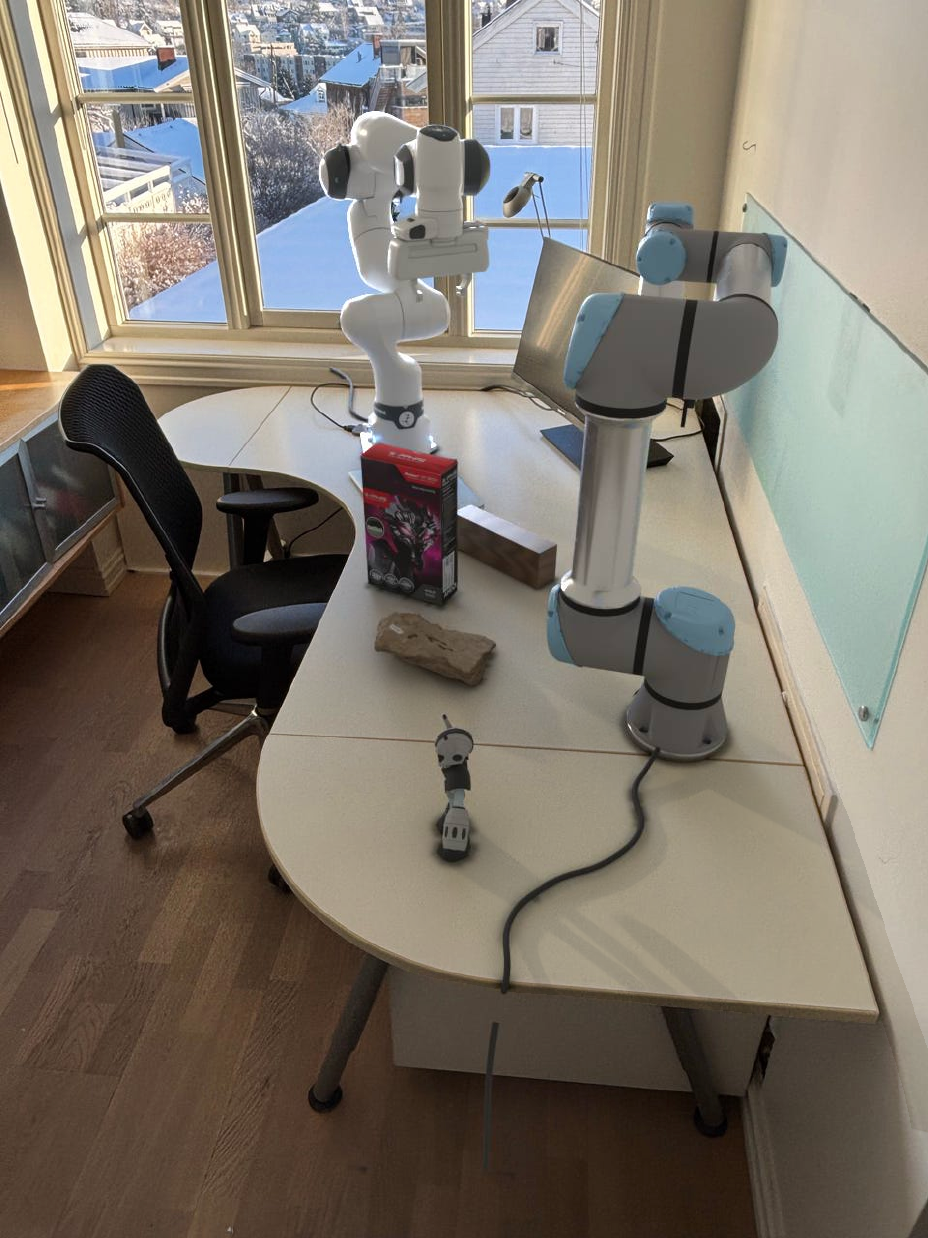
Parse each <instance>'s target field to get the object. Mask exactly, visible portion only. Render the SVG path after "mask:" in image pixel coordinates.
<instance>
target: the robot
mask: <svg viewBox="0 0 928 1238" xmlns="http://www.w3.org/2000/svg"><path fill="white" fill-rule="evenodd" d="M442 719H443V722H444V725H445V728H446V729H445V730H443V731H441V732H440V733H439V734H438V735H436V738H435V741H434V742H433V743H434V751H435V753H436V755H437V766H438V767H440V768H441V769H440V770H441V773H442V775H443V777H444V779H445V780H444V781H443V786H444V794H446V797H447V799H448V801H447V804H446V806H445V808H444V811H443V813H442V815H441V816H440V818H438V820H437V821H436V823H435V826H436V828H437V831H438V833H439V834H441V835H442V837H441V839H440V843H439V845H438V847H437V850H436V854H437V855H438V856H440V857H441V859H442V860H444V861H447V862H457V861H459V860H462V859H464V858H466V857H468V856H469V854H470V850H471V839H470V834H469V833H470V816H469V811H468V809H466V807H465V804H464V803H465V802H464V801H465V798H466V791H468V792H469V791H470V792H471V790H472V781H471V774H470V770H469V769H468V761H469V760H470V757H469V754H472V752H473V750H474V745H475V744H474V738H473V736H472V734H471V733H470V732H469V731H468V730H466V729H465V728H462V727H458V726H453V725H452V724H451V722H450V720H449V718H448V716H447V714H445V713H443V715H442ZM465 790H466V791H465Z"/></svg>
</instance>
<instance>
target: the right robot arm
mask: <svg viewBox="0 0 928 1238" xmlns="http://www.w3.org/2000/svg"><path fill="white" fill-rule="evenodd" d="M694 219H695V208H694V206H693V205H691V204H689V203H686V202H681V201H656V202H653V203H651V204H650V205H649V207H648V210H647V216H646V220H645V230H644V231H645V232H644V235H643V237H642V239H641V240H640V241H639V244H638V246H637V249H636V256H635V267H636V269H637V272H638V274H639V285H638V294H635V293H626V292H625V291H622V292H620V293H603V292H602V293H601V292H597V293H592V294H590V295H589V296H588V297H586V298H585V299H584V301H583V302H582V303H581V306H580V308H579V309H578V313H577V315H576V318H575V322H574V326H573V329H572V333H571V337H570V340H569V345H568V349H567V353H566V358H565V363H564V364H565V365H564V370H563V381H562V382H563V385H564V386H565V387H566V388H568V389H569V390H575V395H574V405H575V407H576V408H577V409H578V411H580V412H581V414H583V415H584V416H585V418H584V430H583V440H582V441H583V442H582V454H581V464H580V476H579V477H580V478H579V488H578V499H577V510H576V511H577V512H576V520H575V521H576V524H575V534H574V543H573V544H574V546H573V557H572V567H571V569H570V570H568V571H567V572H565V573H564V575H563V576H562V577H561V579H560V583H559V584H555V585H554V586H553V587H552V588H551V590H550V593H549V596H548V601H547V617H546V641H547V646H548V651H549V653H550V655H551V656H552V658H554V659H555V660H556V661H557V662H560V663H564V664H567V665H568V664H569V665H573V666H575V667H577V668H583V667H584V668H588V669H589V668H591V669H596V670H602V671H607V672H614V673H620V674H627V675H633V676H638V677H639V676H640V677H643V682H642V684H641V685H640V688H638V689H637V690H636V691H635V692H634V694H633V695H632V696H631V697H632V698H633V699H632V701H631V702H630V704H629V706H628V708H627V711H626V719H625V728H626V732H627V734H628V736H629V738H630V739H631V741H632V742H634V744H636V745H637V746H638V747H639V748H640V749H641V750H643V751H645V752H646V753H648V754H650V756H649V759H648V760H647V761H646V763H645V765H644V767H643V768H642V769H641V771H640V772H639V774H638V775H637V777H636V778H635V780H634V781H633V785H632V788H631V797H632V802H633V805H634V809H635V812H636V815H637V819H638V822H637V828H636V831H635V833H634V834H633V836H632V838H630V840H629V841H628V842H627V843H626V844H625V845H624V846H623V847H622V848H620V849H619V850H617V851H615V852H614V853H613V854H611V855H608V857H606V858H604V859H603V860H601V861H599V862H596V863H593V864H591V865H589V866H588V865H587V866H586V867H582V868H579V869H574V870H572V871H567V872H564V873H562V874H560V875H557V876H554V877H553V878H551V879H549V880H547V881H546V882H544V883H542V884H541V885H539V886H538V887H535V888H534V889H533V890H531V891H530V892H528V893H527V894H526V895H525V896H524V897H522V898H521V899H520V900H519V901H518V902H517V904H515V906H514V907H513V909H512V910H511V912H510V913H509V915H508V917H507V919H506V921H505V924H504V927H503V930H502V953H503V972H502V973H503V975H502V981H501V987H500V994H501V995H507V993H508V992H509V986H510V980H511V968H512V964H511V963H512V961H511V948H510V947H511V946H510V933H511V929H512V926H513V924H514V921H515V919H516V917H517V916H518V914H519V913H520V911H521V910H522V909H523V908H524V907H525V906H526V905H527V904H528V903H529V902H530V901H532V900H533V899H534V898H536V897H537V896H539V895H540V894H542V893H544V892H545V891H547V890H548V889H550V888H552V887H553V886H556V885H557V884H559V883H561V882H564V881H567V880H570V879H573V878H575V877H580V876H583V875H587V874H591V873H593V872H596V871H598V870H601V869H603V868H605V867H607V866H609V865H611V864H612V863H614V862H615V861H616V860H618V859H620V858H621V857H623V856H624V855H625V854H626V853H628V852H629V851H631V849H632V848H634V846H635V845H636V844H637V843H638V842H639V839H640V838H641V836H642V834H643V831H644V828H645V816H644V812H643V809H642V807H641V806H642V805H641V804H640V800H639V795H638V793H639V792H638V791H639V786H640V784H641V782H642V780H644V779H643V778H644V777H645V776H646V774H647V773H648V772H649V770H650V769H651V767H652V766H653V764H654V762H655V761H656V759H657V758H659V759H662V760H666V761H670V762H675V763H694V762H700V761H703V760H706V759H709V758H711V757H714V755H716V754H718V752H720V751H721V750H722V748H723V747H724V744H725V743H726V740H727V739H726V738H727V733H728V721H727V716H726V712H725V708H724V707H725V706H724V701H723V692H724V686H725V682H726V678H727V677H726V676H727V671H728V666H729V661H730V657H731V652H732V651H733V650H734V646H735V638H734V637H735V631H736V620H735V616H734V614H733V612H732V610H731V608H730V607H729V606H728V605H727V604H726V603H724V602H723V601H722V600H721V599H720V598H719V597H717V596H716V595H714V594H712V593H710V592H708V591H706V590H704V589H700V588H697V587H696V588H695V587H692V586H688V585H687V586H686V585H675V586H674V587H670V586H669V587H666V588H664V589H662V590H660V591H659V592H658V593H657V595H656V596H655V597H654V598H653V597H649V596H648V597H647V596H642V585H641V583H640V581H639V580H638V578H637V577H636V576H635V575H634V566H635V559H636V550H637V543H638V535H639V528H640V521H641V513H642V512H641V511H642V504H643V499H644V498H643V497H644V491H645V489H644V488H645V481H646V473H647V466H648V460H649V459H648V458H649V450H650V442H651V434H652V427H653V421H655V420H656V419H657V418H658V417H660V416H661V415H663V414H664V413H665V412H666V410H667V406H668V405H667V403H668V399H678V400H683V406H682V412H681V413H682V414H681V418H680V419H681V420H680V426H679V427H680V428H686V423H687V417H688V416H687V415H688V409H690V410H691V409H692V410H693V409H694V408H695V406H696V401H697V400H698V401H699V400H707V399H711V398H716V397H720V396H722V395H725V394H727V393H730V392H732V391H734V390H736V389H738V388H740V387H741V386H743V385H745V384H746V383H748V382H750V381H751V380H752V379H754V377H756V376H757V375H758V374H759V373H760V372H761V371H763V369H764V368H765V367H766V365H767V364H768V363H769V361H770V360H771V358H772V357H773V354H774V352H775V350H776V348H777V344H778V341H779V321H778V317H777V314H776V311H775V310H774V308H773V306H771V303H772V302H771V299H772V298H771V297H772V295H771V294H772V288H776V287H778V286H779V285H780V284H781V281H782V279H783V274H784V269H785V266H786V259H787V254H788V253H787V252H788V245H789V243H788V239H787V238H786V237H785V236H784V235H779V234H773V233H768V232H742V231H741V232H740V231H721V230H706V229H694V228H695V224H694ZM686 282H689V283H703V284H714V285H715V288H714V293H713V298H712V299H713V300H708V299H690V298H689V299H688V298H684V295H685V287H686ZM499 1027H500V1022H495V1021H492V1022H491V1028H490V1036H489V1041H488V1042H489V1043H488V1049H487V1058H486V1059H487V1060H486V1068H485V1069H486V1070H485V1082H484V1105H483V1106H484V1107H483V1108H484V1112H483V1153H482V1172H483V1173H485V1174H486V1173H488V1172H489V1167H490V1166H489V1165H490V1150H491V1149H490V1148H491V1114H492V1113H491V1110H492V1107H491V1106H492V1087H493V1086H492V1085H493V1073H494V1063H495V1053H496V1047H497V1040H498V1033H499Z"/></svg>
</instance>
